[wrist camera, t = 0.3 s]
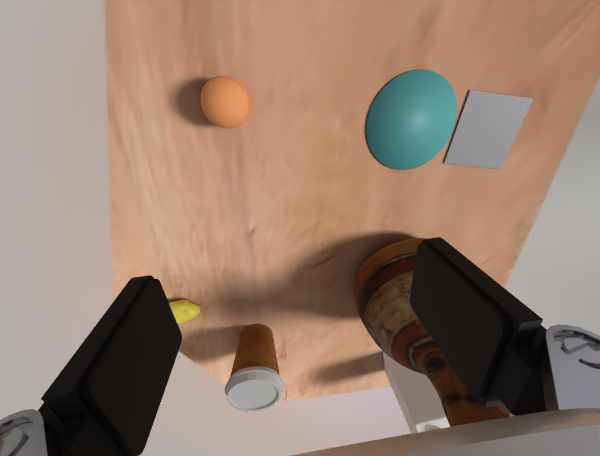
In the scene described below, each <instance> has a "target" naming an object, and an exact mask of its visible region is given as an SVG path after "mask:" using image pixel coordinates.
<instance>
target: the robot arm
mask: <svg viewBox="0 0 600 456" xmlns="http://www.w3.org/2000/svg"><path fill="white" fill-rule="evenodd" d="M410 305H411V308H412V309H413V311H414V312H415V314H416V315H417V317H418V318H419V320H420V321H421V323H422V324H423V325H424V327H425V328H426V330H427V331H428V333H429V334H430V336H431V337H432V339H433V340H434V341H435V343H436V344H437V346H438V347H439V349H440V350H441V352H442V353H443V355H444V356H445V357H446V359H447V360H448V362H449V363H450V365H451V366H452V368H453V369H454V371H455V372H456V373H457V375H458V376H459V378H460V379H461V381H462V382H463V384H464V385H465V387H466V388H467V390H468V391H469V392H470V393H471V394H472V395H473V396H477V397H478V399H479V400H480V401H481V403H482V404H483V406H484V407H491V406H496V405H502V404H504V406H505V407H506V408H507V409H508V411H509V416H510V417H506V418H500V419H494V420H487V421H481V422H475V423H470V424H464V425H458V426H453V427H447V428H441V429H436V430H430V431H424V432H419V433H413V434H407V435H401V436H396V437H390V438H384V439H379V440H374V441H368V442H362V443H357V444H351V445H346V446H340V447H335V448H329V449H324V450H319V451H313V452H307V453H302V454H296V455H291V456H600V336H598V335H596V334H594V333H592V332H590V331H587V330H584V329H582V328H579V327H574V326H569V325H555V326H551V327H550V328H549V329H547V330H546V329H545V328H544V327H543V326H541V322H542V320H543V319H542V318H540V317H539V316H538V315H537V314H535V313H534V312H533V311H532V310H531V309H529V308H528V307H527V306H526V305H524V304H523V303H522V302H520V301H519V300H518V299H517V298H516V297H514V296H513V295H512V294H510V293H509V292H508V291H507V290H506V289H504V288H503V287H502V286H501V285H499V284H498V283H497V282H496V281H494V280H493V279H492V278H491V277H490V276H488V275H487V274H486V273H485V272H483V271H482V270H481V269H480V268H478V267H477V266H476V265H475V264H473V263H472V262H471V261H470V260H468V259H467V258H466V257H465V256H463V255H462V254H461V253H460V252H458V251H457V250H456V249H455V248H453V247H452V246H451V245H450V244H449V243H447V242H446V241H445V240H444V239H442V238H440V237H438V238H430V239H424V240H423V241H422V242H421V244H419V245H418V247H417V252H416V259H415V266H414V272H413V279H412V286H411V293H410ZM181 341H182V335H181V331H180V329H179V326H178V324H177V322H176V319H175V317H174V314H173V312H172V310H171V307H170V305H169V302H168V300H167V298H166V295H165V293H164V290H163V288H162V286H161V283H160V281H159V280H158V279H154V277H152V276H142V277H135V278H132V279H130V281H129V282H128V283H127V285H126V286H125V287H124V289H123V290H122V291H121V293H120V294H119V295H118V297H117V298H116V299H115V301H114V302H113V303H112V305H111V306H110V307H109V309H108V310H107V311H106V313H105V314H104V315H103V317H102V318H101V319H100V321H99V322H98V323H97V325H96V326H95V327H94V329H93V330H92V332H91V333H90V334H89V335H88V337H87V338H86V339H85V341H84V342H83V343H82V345H81V346H80V347H79V349H78V350H77V351H76V353H75V354H74V355H73V357H72V358H71V359H70V361H69V362H68V363H67V365H66V366H65V367H64V369H63V370H62V371H61V373H60V374H59V376H58V377H57V378H56V379H55V381H54V382H53V383H52V385H51V386H50V387H49V389H48V390H47V391H46V393H45V394H44V395H43V397H42V398H41V399H42V400H43V401H44V403H43V405H42V406H41V407H40V409H39V410H38V411H36V410H34V409H31V410H23V411H19V412H16V413H14V414H11V415H9V416H7V417H5V418H3V419H1V420H0V456H138V455H140V454H141V453H142V452H143V450H144V448H145V445H146V442H147V439H148V437H149V434H150V431H151V428H152V425H153V422H154V419H155V417H156V414H157V411H158V408H159V405H160V402H161V399H162V396H163V394H164V391H165V388H166V385H167V382H168V379H169V376H170V374H171V371H172V368H173V365H174V362H175V359H176V356H177V353H178V351H179V348H180V345H181Z"/></svg>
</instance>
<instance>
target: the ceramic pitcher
mask: <svg viewBox="0 0 600 456" xmlns="http://www.w3.org/2000/svg"><path fill="white" fill-rule="evenodd" d="M423 240H424V238H417V239H415V238H412V239H406V240H402V241H399V242H396V243H393V244H391V245H388V246H386V247H384V248H382V249H381V250H379V251H377V252H376V253H375V254H373V255H372V256H371V257H369V258H368V259H367V260H366V261H365V262H364V263H363V265H362V266H361V267H360V269H359V271H358V272H357V275H356V280H355V300H356V306H357V309H358V312H359V315H360V317H361V319H362V322H363V324H364V325H365V327H366V329H367V331H368V332H369V334H370V335H371V337H372V338H373V340H374V341H375V343H376V344H377V345H378V346H379V347H380V348H381V349H382V350H383V351H384V352H385V353H386V354H387V355H388V356H389V357H390V358H392V359H393V360H394V361H396V362H397V363H399V364H400V365H402V366H404V367H406V368H408V369H410V370H412V371H415V372H418V373H421V374H424V375H426V376H427V378H428V379H429V380H430V381H431V383H432V384H433V386H434V388H435V389H436V391H437V393H438V396H439V398H440V400H441V403H442V407H443V410H444V413H445V415H446V418H447V420H448V423H449V425H450V427H453V426H458V425H464V424H470V423H475V422H481V421H487V420H494V419H500V418H506V417H510V416H509V411H508V409H507V408H506V407H505V406H504V404H502V405H496V406H491V407H484V406H483V404H482V403H481V401H480V400H479V399H478V397H477V396H473V395H472V394H471V393H470V392H469V391H468V390H467V388H466V387H465V385H464V384H463V382H462V381H461V379H460V378H459V376H458V375H457V373H456V372H455V371H454V369H453V368H452V366H451V365H450V363H449V362H448V360H447V359H446V357H445V356H444V355H443V353H442V352H441V350H440V349H439V347H438V346H437V344H436V343H435V341H434V340H433V339H432V337H431V336H430V334H429V333H428V331H427V330H426V328H425V327H424V325H423V324H422V323H421V321H420V320H419V318H418V317H417V315H416V314H415V312H414V311H413V309H412V308H411V305H410V293H411V286H412V279H413V272H414V266H415V259H416V252H417V247H418V245H419V244H421V242H422V241H423Z"/></svg>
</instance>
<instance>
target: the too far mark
mask: <svg viewBox="0 0 600 456" xmlns="http://www.w3.org/2000/svg"><path fill="white" fill-rule="evenodd" d="M532 101H533V99H530V98H523V97H516V96H509V95H502V94H495V93H488V92H481V91H474V90H469V93H468V96H467V99H466V101H465V104H464V107H463V110H462V113H461V115H460V118H459V121H458V124H457V127H456V129H455V132H454V135H453V138H452V141H451V143H450V146H449V149H448V152H447V155H446V157H445V160H444V164H454V165H464V166H475V167H486V168H497V169H501V168H502V166H503V164H504V162H505V159H506V157H507V155H508V153H509V151H510V149H511V146H512V144H513V142H514V140H515V138H516V136H517V133H518V131H519V129H520V127H521V125H522V123H523V120H524V118H525V116H526V114H527V112H528V110H529V107H530V105H531V103H532Z"/></svg>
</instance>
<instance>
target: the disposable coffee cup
mask: <svg viewBox="0 0 600 456" xmlns="http://www.w3.org/2000/svg"><path fill="white" fill-rule="evenodd" d="M282 391H283V381H282V379H281V377H280V374H279V369H278V363H277V357H276V351H275V346H274V339H273V333H272V331H271V329H270V328H269V327H267V326H265V325H261V324H255V325H251V326H248V327H246V328H245V329H244V330H243V331H242V333H241V337H240V341H239V345H238V349H237V353H236V357H235V360H234V364H233V368H232V372H231V376H230V378H229V380H228V382H227V384H226V387H225V393H226V395H227V400H228V402H229V404H230V405H231V406H232V407H234V408H236V409H238V410H241V411H250V412H255V411H261V410H265V409H268V408H270V407H272V406H273V405H274V404H276V403H277V402H278V401H279V399H280V397H281V392H282Z"/></svg>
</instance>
